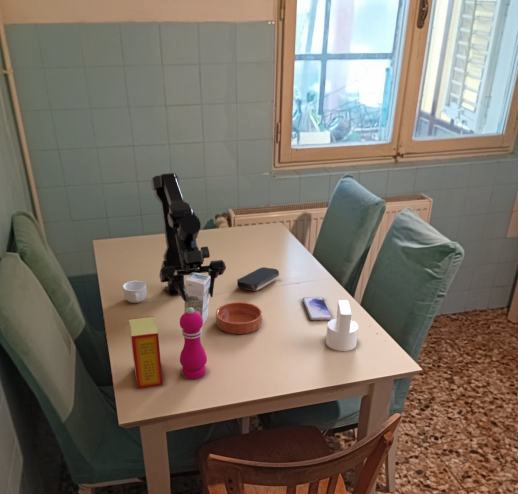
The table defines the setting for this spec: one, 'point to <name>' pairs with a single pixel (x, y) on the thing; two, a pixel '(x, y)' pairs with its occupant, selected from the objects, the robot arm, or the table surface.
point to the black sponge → (258, 279)
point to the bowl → (239, 317)
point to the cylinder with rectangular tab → (342, 329)
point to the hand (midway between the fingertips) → (198, 298)
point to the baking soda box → (146, 352)
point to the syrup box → (197, 293)
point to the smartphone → (317, 308)
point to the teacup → (135, 291)
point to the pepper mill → (192, 345)
